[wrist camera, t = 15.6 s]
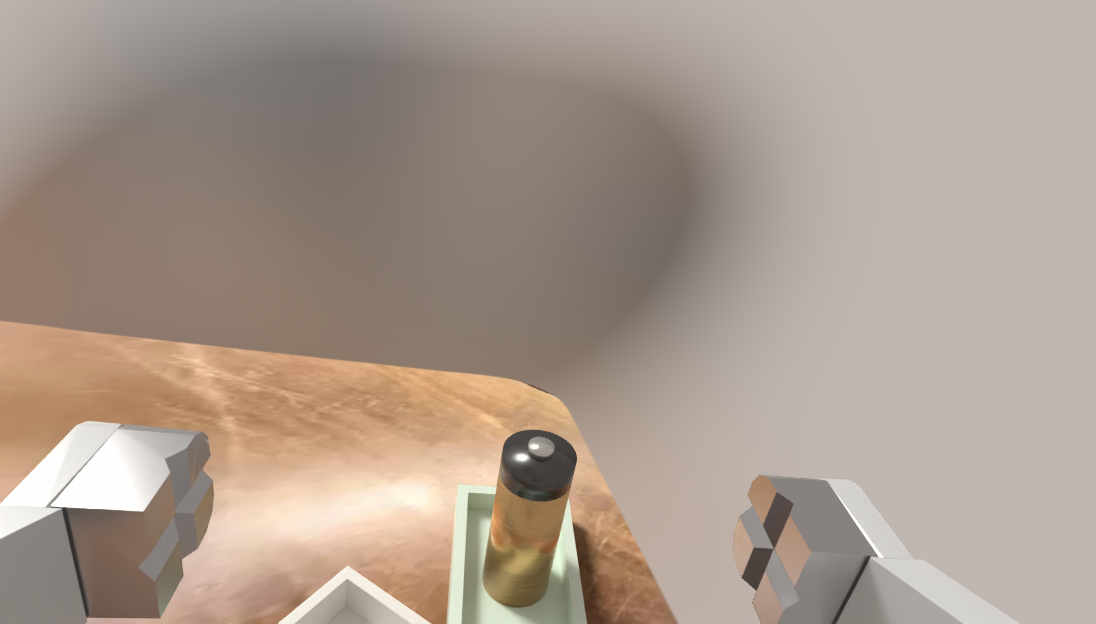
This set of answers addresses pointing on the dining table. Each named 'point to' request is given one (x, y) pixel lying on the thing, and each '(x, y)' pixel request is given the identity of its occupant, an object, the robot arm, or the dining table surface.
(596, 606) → the dining table surface
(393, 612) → the small white open box
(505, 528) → the cell
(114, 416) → the dining table surface
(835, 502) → the robot arm
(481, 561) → the pale green tray
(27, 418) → the dining table surface
